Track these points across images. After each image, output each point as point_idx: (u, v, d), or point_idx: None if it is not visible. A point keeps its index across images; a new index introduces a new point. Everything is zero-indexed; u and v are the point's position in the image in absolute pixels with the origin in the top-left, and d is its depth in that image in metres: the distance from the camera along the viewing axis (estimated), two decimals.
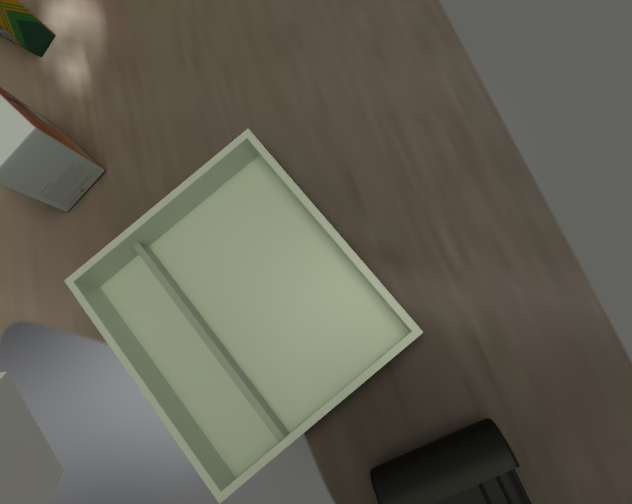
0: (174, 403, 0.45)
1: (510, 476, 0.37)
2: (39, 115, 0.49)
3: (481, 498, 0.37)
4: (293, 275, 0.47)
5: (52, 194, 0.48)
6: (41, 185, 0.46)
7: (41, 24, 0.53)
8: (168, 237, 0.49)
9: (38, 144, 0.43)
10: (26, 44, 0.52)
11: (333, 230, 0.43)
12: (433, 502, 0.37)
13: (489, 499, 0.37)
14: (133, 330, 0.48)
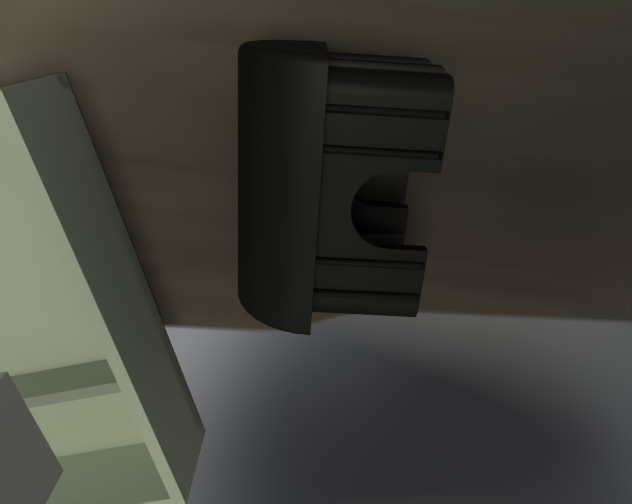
0: None
1: (343, 81, 0.17)
2: None
3: (353, 160, 0.18)
4: None
5: None
6: None
7: None
8: None
9: None
10: None
11: None
12: (313, 251, 0.18)
13: (363, 146, 0.18)
14: None
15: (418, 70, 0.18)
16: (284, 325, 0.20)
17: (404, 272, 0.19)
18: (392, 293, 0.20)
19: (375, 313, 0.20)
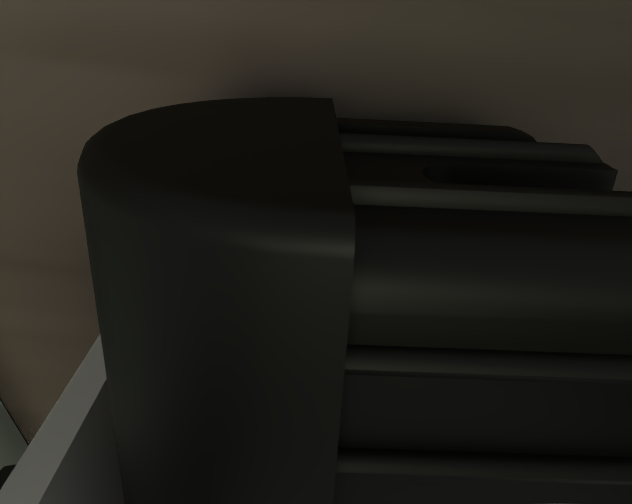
0: None
1: (403, 277, 0.05)
2: None
3: (425, 484, 0.06)
4: None
5: None
6: None
7: None
8: None
9: None
10: None
11: None
12: None
13: (457, 451, 0.06)
14: None
15: (620, 212, 0.06)
16: None
17: None
18: None
19: None
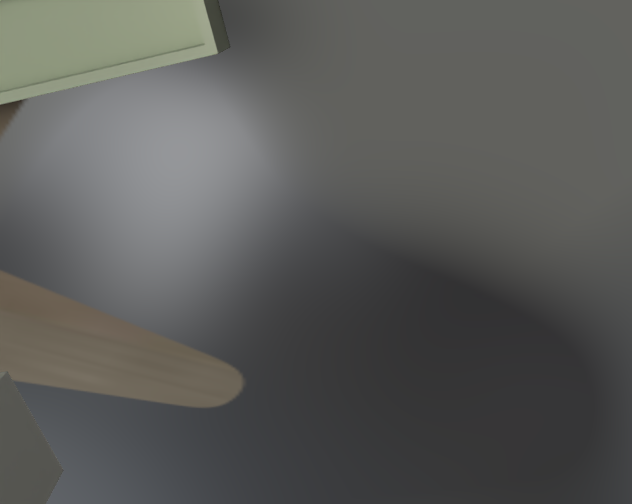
0: (90, 70, 0.33)
1: None
2: None
3: None
4: None
5: None
6: None
7: None
8: None
9: None
10: None
11: None
12: None
13: None
14: None
15: None
16: None
17: None
18: None
19: None
